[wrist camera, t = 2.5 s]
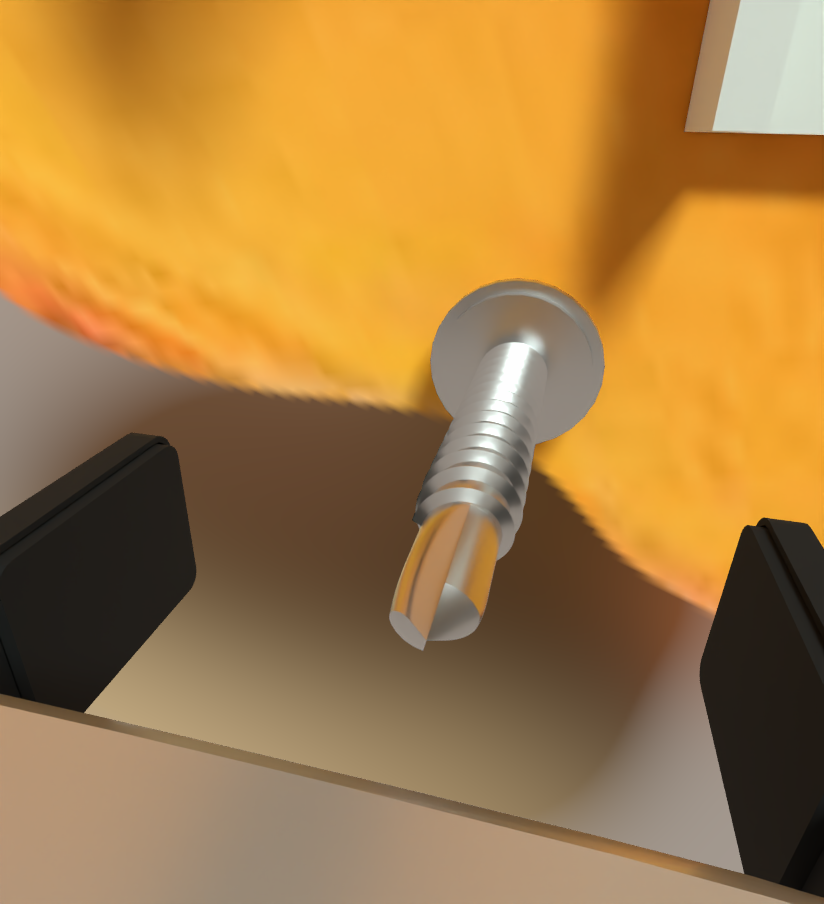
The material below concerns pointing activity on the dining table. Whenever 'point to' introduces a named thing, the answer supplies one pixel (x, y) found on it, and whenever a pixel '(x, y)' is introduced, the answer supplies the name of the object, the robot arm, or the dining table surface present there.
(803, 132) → the rack
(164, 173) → the dining table surface
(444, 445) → the screw
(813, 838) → the robot arm
